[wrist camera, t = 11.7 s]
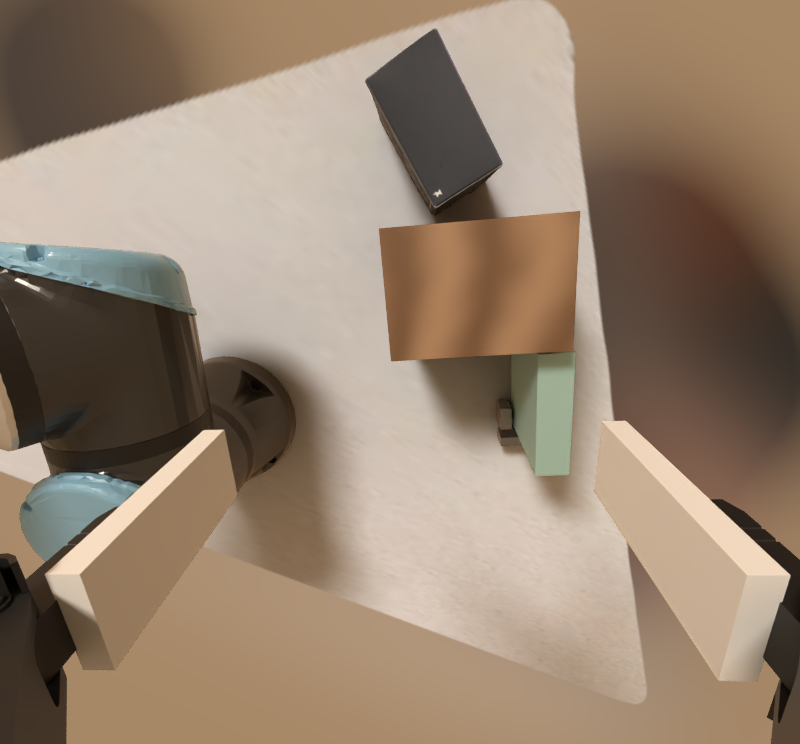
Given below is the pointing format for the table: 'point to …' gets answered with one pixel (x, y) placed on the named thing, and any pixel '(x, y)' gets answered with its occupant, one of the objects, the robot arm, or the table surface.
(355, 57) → the table surface
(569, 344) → the cabinet
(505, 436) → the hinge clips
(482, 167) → the small box
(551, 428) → the door
